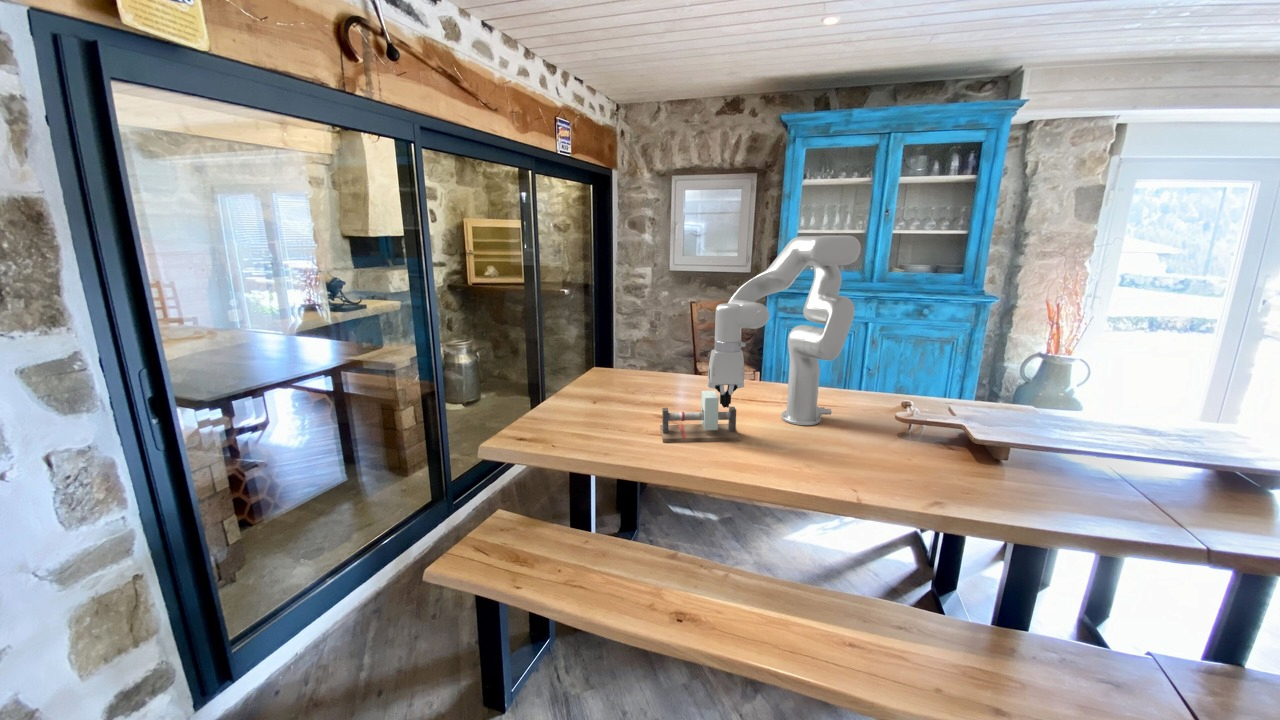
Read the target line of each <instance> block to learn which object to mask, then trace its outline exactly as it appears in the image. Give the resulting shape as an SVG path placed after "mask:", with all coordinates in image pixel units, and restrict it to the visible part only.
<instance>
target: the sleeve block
mask: <svg viewBox="0 0 1280 720" xmlns="http://www.w3.org/2000/svg"><path fill="white" fill-rule="evenodd" d="M719 404H720V397H719V396H718V394H717V392H716V391H715V390H701V405H700V406H701V409H700V410H701V411H700V412H704V420H700V422H701V424H702V425H703V428H704V430H718V424H719V420H718V412H719Z"/></svg>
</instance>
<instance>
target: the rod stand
mask: <svg viewBox="0 0 1280 720" xmlns="http://www.w3.org/2000/svg"><path fill="white" fill-rule="evenodd" d="M701 420H704V412H701V411H700V412H699V411H698V412H694V411H693V412H691V411H690V412H684V411H681V412H669V409H668V407H662V424H660V427H659V428H660V434H661V440H662V443H699V442H700V443H702V442H703V443H704V442H706V443H709V442H740V439H741V437H740V435H739V433H738V432H737V430H736V427H737V409H736V407H735V406H729V408H728V411H718V421H725V420H727V421H728V423H718V430H704V428H703V425H702V423H701V424H697V423H695V424H683V423H682V424H681V423H680V424H669V422H671V421H672V422H676V421H677V422H679V421H681V422H685V421H701Z"/></svg>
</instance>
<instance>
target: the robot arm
mask: <svg viewBox="0 0 1280 720" xmlns="http://www.w3.org/2000/svg"><path fill="white" fill-rule="evenodd" d="M861 248H862V246H861V243H860V240H858V239H857V237H855V236H853V235H811V236H808V235H803V236H802V235H801V236H796V237H794V238H792V239H791V240H790V241H789V242H788V243H787V244H786V245H785V246H784V248H783V249H782V250H781V252H779V254H778V255H777V256H776V258H775V259H774V260H773V261H772V263H770V265H769V266H768V268H767V269H765V270H764V271H763V272H761V273H759V274H757V275H756V276H754V277H752V278H751V279H750V280H747V282H745V283H744V284H742V285H741V286H740V287H739V288H738V289H737V290H736V291H735V292H734V293H733V295H732V296H731V298H730V299H729V300H728V301H727V302H726V303H720V304H717V306H716V308H715V314H714V315H715V319H714V320H715V326H714V349H712V350H711V351H710V355H709V356H710V357H709V361H708V362H709V363H708V370H707V371H708V373H707V375H708V376H707V378H708V382H707V387H708V388H710V389H713V390H716V391H717V392H718V393H720V394H719V404H720V405H721V406H722V408H724V409H726V408H727V409H729V407H730V405H731V404H732V403H731V402H732V395H733V394H734V392H735V391H736V390H738V389H741V388H744V387H745V361H744V352H743V349H742V348H745V347H747V344H746V342H745V341H742V329H752V330H753V329H759V328H762V327H764V326H766V324H767V323H768V322H769V320H770V311H769V308H768V307H767V306H766V305H765V304H763V303H760V302H758V301H759V300H761V299H762V298H764V297H766V296H769V295H773V294H776V293H779V292H783V291H786V290H787V289H789V288H790V287H791V286H792V284H793V283H795V281H796V279H797V278H798V277H799V275H800V274H801V273H802V272H803V271H804V270H805V268H806V267H807V266H812V267H813V280H812V283H811V287H810V289H809V292H808V295H807V298H806V300H805V304H804V305H803V306H804V307H803V310H802V311H803V312H802V313H803V317H804V318H805V319H806V320H807V321H809V322H812V323H815V324H820V325H825V326H824V328H822V327H818V326H814V325H808V324H801V325H797V326H796V325H795V326H794V327H792V329H791V330H790V332H789V333H788V337H787V348H788V354H789V355H788V356H789V368H788V369H789V370H788V383H787V385H788V386H787V397H786V410H784V411H783V412H781V414H780V415H781V419H782V420H783V421H785V422H787V423H789V424H792V425H797V426H814V425H817V424H819V423H821V422H822V415H830V416H831V415H832V409H831V408H825V407H824V406H823V407H822V406H821V407H819V406H818V398H819V397H818V396H819V388H820V387H819V385H820V376H821V375H820V374H821V368H820V367H821V366H820V363H819V360H821V361H827V362H828V361H830V362H831V361H833V360H835V359H837V357H839V356H840V354H841V353H842V350H843V348H844V346H845V343H846V340H847V338H848V335H849V332H850V329H851V327H852V324H853V321H854V318H855V306H854V303H853V301H852V299H850V298H849V297H846V296H845V295H844V296H843V295H839V293H840V290H841V285H842V280H843V279H842V278H843V277H842V273H841V270H840V268H839V266H846V265H851V264H852V263H855V262H856V261H857V259H858V258H859V256H860V254H861V252H862V251H861V250H862V249H861ZM725 386H727V387H726V390H725Z"/></svg>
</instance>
